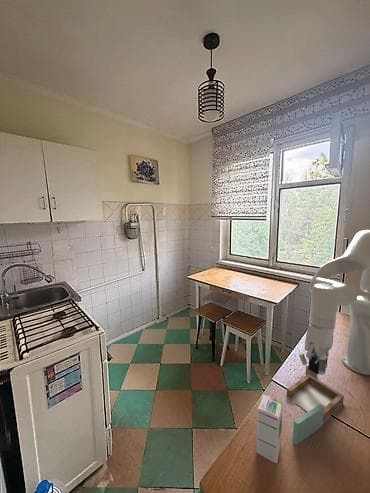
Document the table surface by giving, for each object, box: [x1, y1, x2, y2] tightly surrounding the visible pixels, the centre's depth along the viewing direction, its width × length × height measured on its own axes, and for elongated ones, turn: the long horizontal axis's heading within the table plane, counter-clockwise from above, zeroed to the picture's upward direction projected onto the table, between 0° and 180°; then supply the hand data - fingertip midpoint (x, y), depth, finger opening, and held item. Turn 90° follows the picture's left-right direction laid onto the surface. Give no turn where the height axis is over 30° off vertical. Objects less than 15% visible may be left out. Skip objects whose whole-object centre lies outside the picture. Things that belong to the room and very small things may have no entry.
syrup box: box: [255, 394, 284, 464], centre depth 61 cm, size 6×6×14 cm
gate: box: [292, 404, 324, 446], centre depth 65 cm, size 12×1×7 cm, turn 117°
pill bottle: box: [312, 351, 328, 376], centre depth 76 cm, size 5×5×8 cm
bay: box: [286, 374, 345, 423], centre depth 78 cm, size 14×12×3 cm
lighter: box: [298, 352, 319, 380], centre depth 90 cm, size 7×2×8 cm, turn 46°
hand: (317, 368), depth 76 cm, fingers closed on pill bottle, 4 cm apart
